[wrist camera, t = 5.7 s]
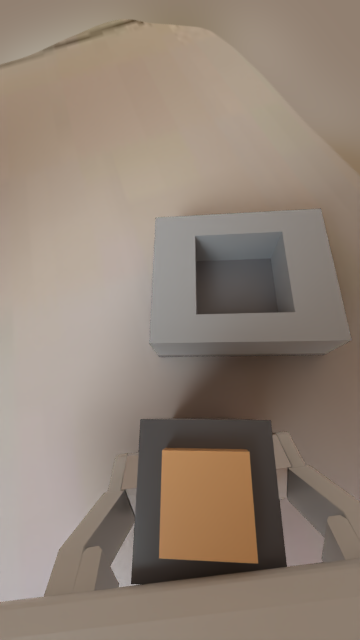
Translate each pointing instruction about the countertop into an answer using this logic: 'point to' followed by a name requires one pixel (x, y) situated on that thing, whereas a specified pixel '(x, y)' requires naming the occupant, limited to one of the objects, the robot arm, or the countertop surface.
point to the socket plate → (245, 286)
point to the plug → (205, 500)
